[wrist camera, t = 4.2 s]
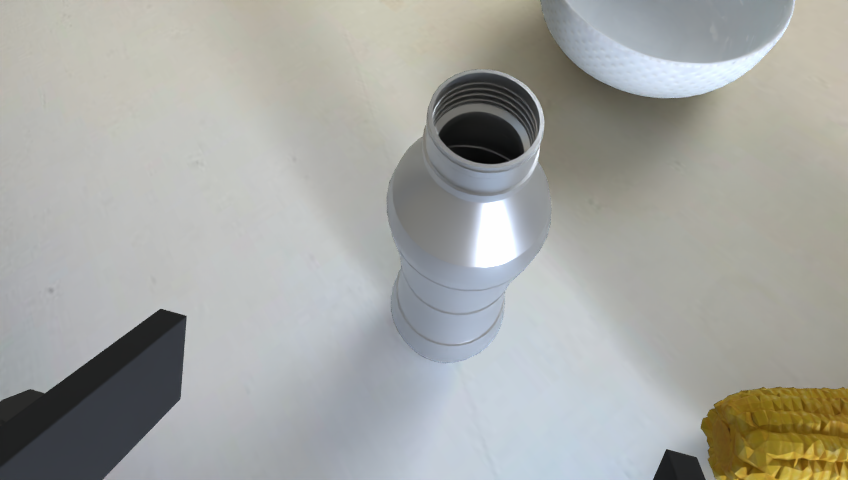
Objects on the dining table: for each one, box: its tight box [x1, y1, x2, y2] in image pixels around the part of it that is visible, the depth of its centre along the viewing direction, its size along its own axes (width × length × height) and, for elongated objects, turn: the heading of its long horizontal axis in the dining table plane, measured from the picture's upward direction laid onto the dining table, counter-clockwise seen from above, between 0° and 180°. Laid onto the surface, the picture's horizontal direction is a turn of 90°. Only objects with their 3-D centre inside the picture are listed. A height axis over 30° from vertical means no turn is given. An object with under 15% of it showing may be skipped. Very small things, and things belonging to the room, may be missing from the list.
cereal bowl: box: [540, 0, 795, 99], centre depth 43 cm, size 17×17×7 cm
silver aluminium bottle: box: [387, 69, 552, 363], centre depth 27 cm, size 6×7×20 cm
